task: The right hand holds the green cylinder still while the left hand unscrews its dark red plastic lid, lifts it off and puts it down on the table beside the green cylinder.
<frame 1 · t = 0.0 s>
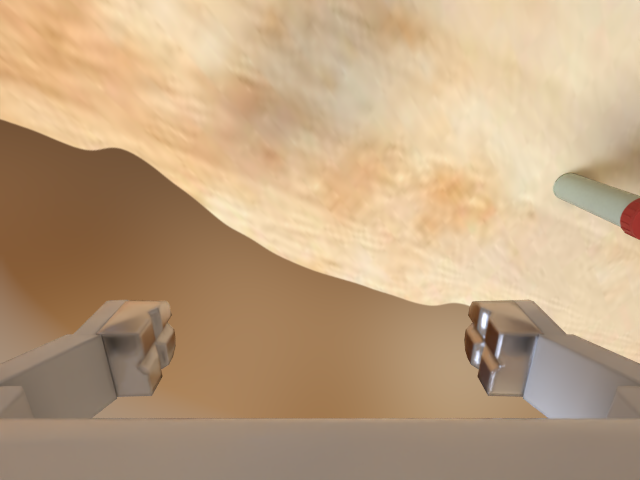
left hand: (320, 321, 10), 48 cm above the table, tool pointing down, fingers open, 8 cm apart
green cylinder: (566, 186, 58), on the table
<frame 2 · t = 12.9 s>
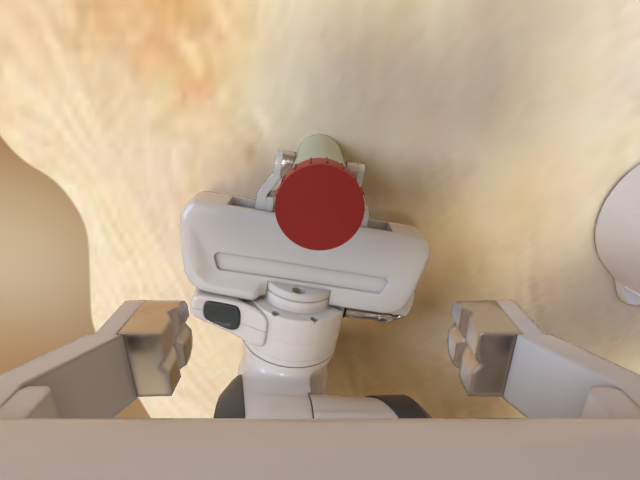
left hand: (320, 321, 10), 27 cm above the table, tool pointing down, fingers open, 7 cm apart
right hand: (321, 157, 30), fingers closed on green cylinder, 4 cm apart
lid: (319, 207, 20), point 16 cm above the table, screwed on, not yet turned
green cylinder: (319, 156, 35), on the table, touching right hand
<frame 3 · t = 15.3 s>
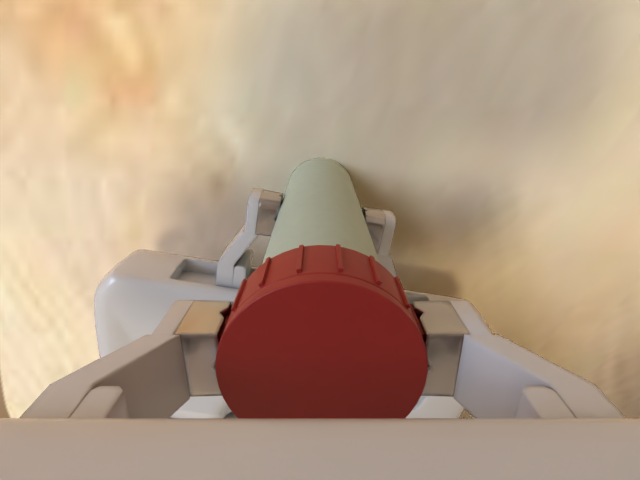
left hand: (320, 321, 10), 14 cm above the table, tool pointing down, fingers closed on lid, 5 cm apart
lid: (321, 364, 9), point 16 cm above the table, screwed on, not yet turned, touching left hand
green cylinder: (320, 190, 24), on the table, touching right hand
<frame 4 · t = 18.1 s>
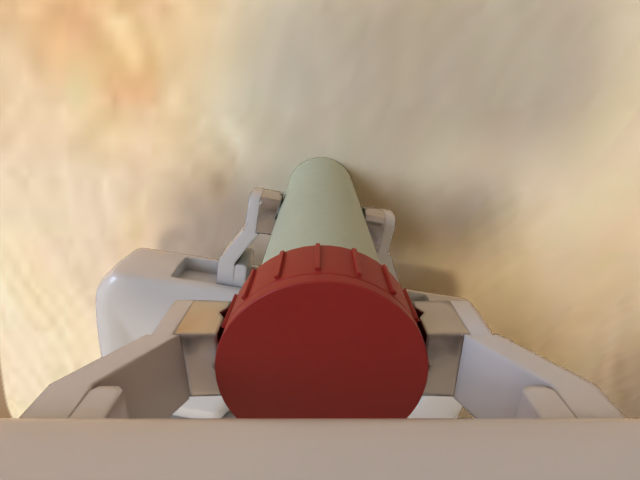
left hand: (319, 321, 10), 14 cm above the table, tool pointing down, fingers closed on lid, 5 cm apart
lid: (321, 365, 9), point 16 cm above the table, turned 54° so far, risen 0.2 cm, still on its thread, touching left hand
green cylinder: (320, 189, 24), on the table, touching right hand
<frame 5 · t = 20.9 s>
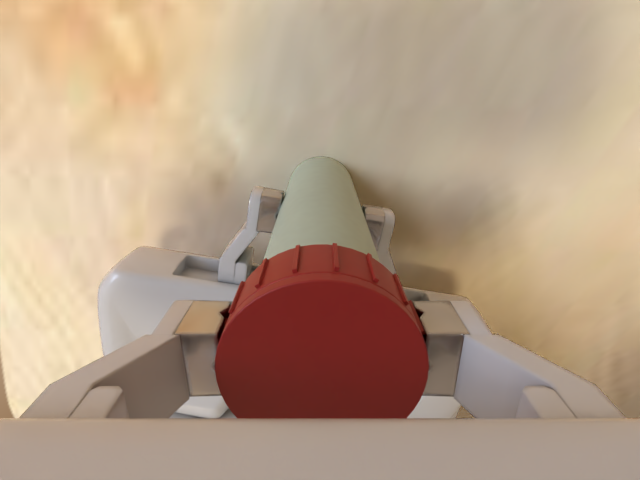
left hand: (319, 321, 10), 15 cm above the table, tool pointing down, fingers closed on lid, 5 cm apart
lid: (321, 364, 9), point 16 cm above the table, turned 108° so far, risen 0.4 cm, still on its thread, touching left hand
green cylinder: (320, 188, 24), on the table, touching right hand
when the left hand's fingers open (2 cm above the table, at t = 27.3 s): lid drops 2 cm, point 2 cm above the table.
when the right hand's fingers open (6 cm above the table, at t = 28.3 s): green cylinder stays where it is, on the table.
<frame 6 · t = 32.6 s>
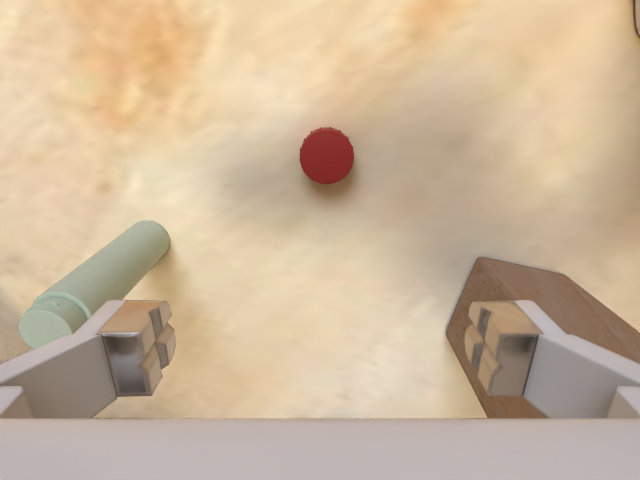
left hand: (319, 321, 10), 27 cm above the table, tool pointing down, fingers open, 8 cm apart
wooden block: (502, 303, 42), on the table
lid: (326, 156, 34), point 2 cm above the table, off its thread
green cylinder: (149, 239, 39), on the table
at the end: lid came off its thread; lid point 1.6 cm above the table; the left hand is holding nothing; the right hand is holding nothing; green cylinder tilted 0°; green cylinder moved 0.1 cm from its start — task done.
